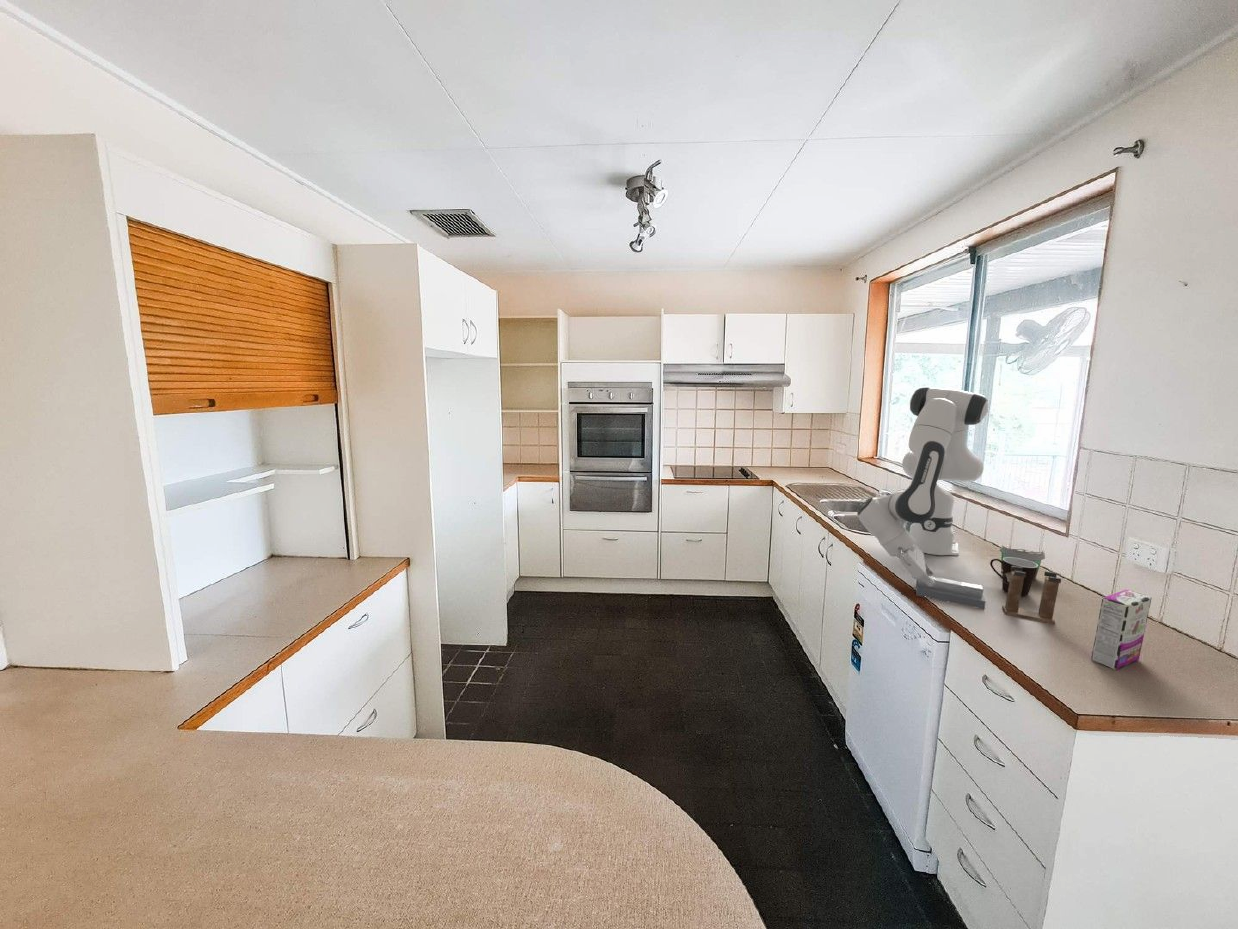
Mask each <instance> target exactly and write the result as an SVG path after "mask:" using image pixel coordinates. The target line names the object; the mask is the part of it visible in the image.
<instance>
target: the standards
mask: <svg viewBox="0 0 1238 929" xmlns="http://www.w3.org/2000/svg"><path fill="white" fill-rule="evenodd" d="M1022 569H1023V568H1022V567H1016V566H1011V570H1013V571H1011V577H1010V582H1009V588H1008V593H1007V595H1006V601H1005V605H1002V608H1001V609H1002V611H1003V614H1004V615H1008V616H1011V617H1012V616H1013V617H1017V618H1022V619H1028V620H1032V621H1037V622H1042V623H1047V624H1051V625H1055V624H1056V620H1055V619H1054V612H1055V607H1056V602H1057V597H1058V596H1057V595H1058V591H1059V585H1060V584H1061V583H1062V578H1061V577H1057V575H1058V573H1057V572H1052V571H1047V570H1045V571H1044V573H1043V574H1044V576H1045V577H1044V582H1043V586H1042V592H1041V598H1040V603H1039V608H1038V611H1033V610H1028V609H1022V608H1020V604H1021V598H1022V597H1021V592H1022V587H1023V581H1024V577H1025V576H1026V573H1025V572H1022Z"/></svg>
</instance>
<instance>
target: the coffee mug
mask: <svg viewBox="0 0 1238 929" xmlns="http://www.w3.org/2000/svg"><path fill="white" fill-rule="evenodd" d="M995 561H996V562H999V563H1000V565H1001V564H1002V565H1003V574H1000V572H999V571H997V570H996V569H995V566H994V565H993V563H994V562H995ZM989 565H990V567H991V569H992V571H993V572H995V574H996V575H997V576H998V577H999V578H1000V579H1001V580H1002V585H1001V586H1002V587H1001V588H1002V590H1001V591H1003V592H1005V593H1007V594H1008V588H1009V582H1010V577H1011V571H1013V570H1011V566H1016V567H1022V568H1023V569H1022V572H1025V573H1026V576H1025V577H1024V581H1023V587H1022V592H1021V598H1023V597H1028V596H1029V594H1030V590H1031V587H1032V585H1033V583H1034V581H1035V580H1034V577H1035V574H1036V571H1037V568H1038V565H1037V564H1036V563H1034V562H1032V561H1029V560H1025V559H1021V558H1014V557H1005V558H1003V561H1001V559H999V558H993V559H991V560H990V562H989ZM1033 580H1034V581H1033Z"/></svg>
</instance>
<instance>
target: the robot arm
mask: <svg viewBox="0 0 1238 929" xmlns="http://www.w3.org/2000/svg"><path fill="white" fill-rule="evenodd" d="M909 410H910V412H911V413H912V414H913V415H914V416H916V418H915V422H914V424H913V426H912V429H911V432H910V434H909V439H908V448H909V450H910V451H908V452H907V453H906V454H905V455H904V457H903V458H902V462H901V467H902V469H903V472H904V473H905V474H906V475H907V476H909V477H910V478H911V481H910V484H909V486H908V487H907V488H906V489H905V490H903V491H897V492H894V493H891V494H889V495H885V496H879V497H878V496H877V497H872V496H871V497H869V498H867V499H866V500H865V501H864V502H863V503H862V504H860V506H859V508H857V513H856V515H857V517H858V519H859V521H860V522H861V524H862V525H863V526H864V527H865V529H866V530H867V531H868V532H869V533H870V534H871V535H872V536H874V537H875V538H876V540H877V541H878V543H879V545H880V546H882V548H883V549H884V550H885V551H886V552H887V554H888V555H889V556H890V557H897V558H898V560H899V562H900V564H901V565H902V566H903V568H904V569H905V570H906V571H907V572H908V574H909V575H910V576H911V577H912V578H913V579H914V580H915V581H917V580H918V579H921V580H922V581H924V582H925V583H926V584H927V585H928V586H929V587H931V586H933V585H934V581H933V580H932V579H931V578H930V577H929V576H932V575H933V573H934V571H933V570H932V569H931V567H929V565H928V564H927V562H926V559H925V554H928V555H935V556H959V555H960V554H959V543H958V542H956V541H955V540H954V539H955V533H954V529H953V521H954V518H953V510H954V504H955V498H954V496H953V494H952V493H951V492H949V491H948V490H946V489H944V488H943V487H941V486H940V485H938V481H947V482H956V483H957V482H959V483H966V482H976V481H977V480H978V479H980V477H982V475H983V472H984V463H983V461H982V459H981V458H980V457H979V456H978V455H976V454H974V453H973V452H972V451H971V450H970V449H969V447H968V445H967V442H966V441H967V433H968V432H967V431H968V428H969V425H970V426H973V425H977V424H981V422H982V420H983V419H984V418H986V416H987V413H988V410H989V401H988V398H987V397H986V396H985V394H984V395H983V394H981V393H978V392H974V393H973V392H970V391H965V390H961V389H957V388H956V389H955V388H943V387H942V388H940V387H931V386H921V387H919V388H917V389H916V390H915V391H914V392H913V394H912V395H911V397H910V400H909ZM906 523H912V524H910V527H909V531H908V530H907V529H906V528H905V526H904V525H905V524H906Z"/></svg>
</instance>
